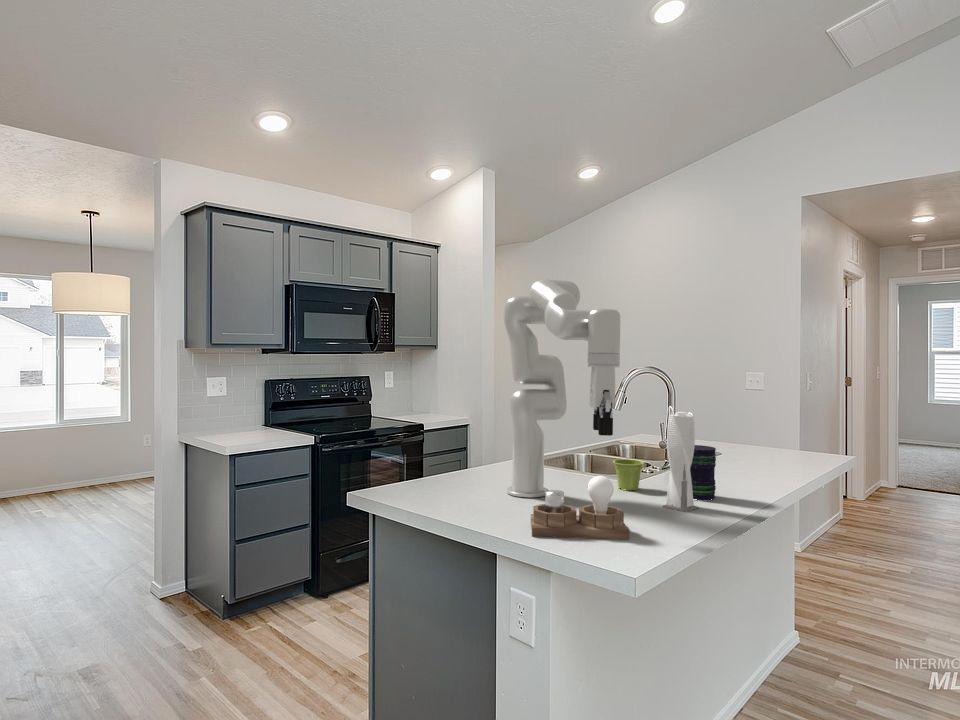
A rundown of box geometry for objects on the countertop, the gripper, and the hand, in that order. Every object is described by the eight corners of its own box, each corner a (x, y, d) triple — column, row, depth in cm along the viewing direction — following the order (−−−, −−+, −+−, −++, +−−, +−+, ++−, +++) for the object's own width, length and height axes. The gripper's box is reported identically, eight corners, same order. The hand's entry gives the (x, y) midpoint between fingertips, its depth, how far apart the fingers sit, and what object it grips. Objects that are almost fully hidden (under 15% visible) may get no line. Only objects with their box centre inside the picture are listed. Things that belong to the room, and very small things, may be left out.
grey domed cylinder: (544, 518, 143) (545, 489, 143) (563, 519, 143) (563, 490, 143) (545, 523, 139) (546, 493, 139) (564, 524, 139) (564, 494, 139)
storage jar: (704, 502, 170) (704, 450, 170) (674, 496, 178) (674, 446, 178) (721, 497, 177) (722, 447, 177) (691, 491, 184) (692, 444, 184)
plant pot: (638, 493, 181) (638, 465, 181) (608, 489, 186) (609, 462, 186) (647, 488, 189) (647, 461, 189) (618, 484, 194) (618, 458, 194)
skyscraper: (657, 506, 166) (659, 406, 166) (673, 501, 171) (675, 405, 171) (685, 512, 159) (686, 408, 159) (701, 507, 164) (702, 407, 164)
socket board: (530, 522, 147) (530, 502, 147) (619, 524, 146) (619, 504, 146) (532, 536, 135) (532, 514, 135) (629, 539, 134) (629, 517, 134)
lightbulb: (582, 522, 141) (582, 475, 141) (597, 517, 145) (597, 472, 145) (604, 527, 136) (604, 479, 137) (618, 522, 141) (618, 475, 141)
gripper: (583, 360, 150) (582, 428, 150) (592, 361, 133) (591, 437, 133) (613, 361, 149) (612, 428, 149) (626, 361, 132) (624, 437, 132)
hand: (602, 432), depth 141 cm, fingers open, 9 cm apart
